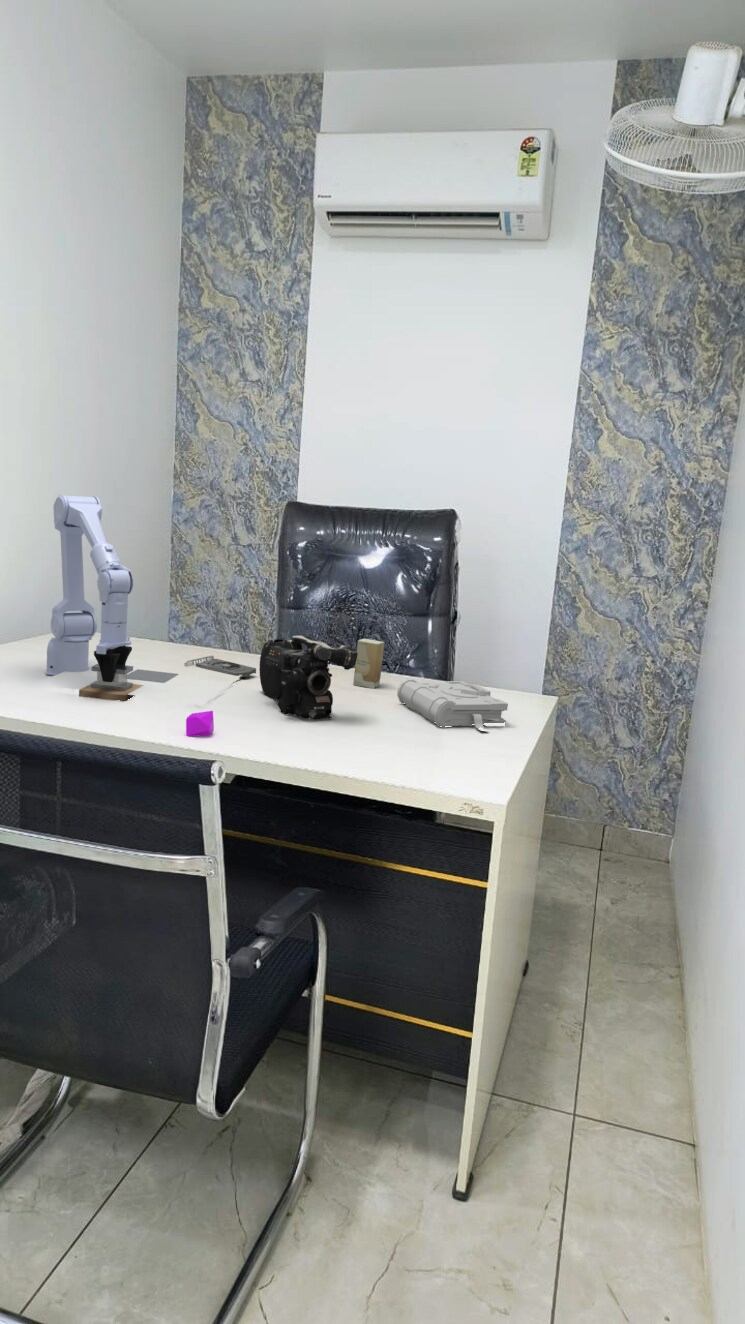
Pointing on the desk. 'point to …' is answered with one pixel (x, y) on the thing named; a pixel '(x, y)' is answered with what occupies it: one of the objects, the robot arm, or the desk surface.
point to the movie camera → (302, 674)
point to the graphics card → (222, 666)
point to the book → (452, 702)
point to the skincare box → (368, 663)
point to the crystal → (200, 724)
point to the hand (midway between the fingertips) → (112, 679)
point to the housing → (118, 680)
